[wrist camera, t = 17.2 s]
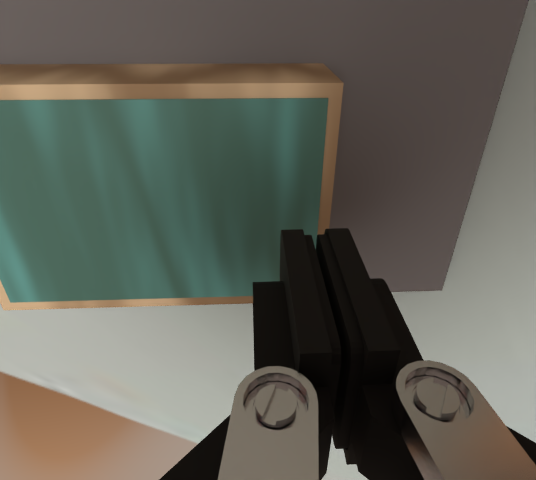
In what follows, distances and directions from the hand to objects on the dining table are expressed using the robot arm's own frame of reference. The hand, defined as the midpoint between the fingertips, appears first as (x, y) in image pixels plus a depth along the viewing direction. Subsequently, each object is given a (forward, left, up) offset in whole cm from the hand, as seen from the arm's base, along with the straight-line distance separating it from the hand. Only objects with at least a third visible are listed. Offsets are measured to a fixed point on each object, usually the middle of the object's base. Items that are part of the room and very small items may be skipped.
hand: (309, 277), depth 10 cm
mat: (+1, 0, -8) cm, 8 cm away
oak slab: (-1, 0, -5) cm, 5 cm away
